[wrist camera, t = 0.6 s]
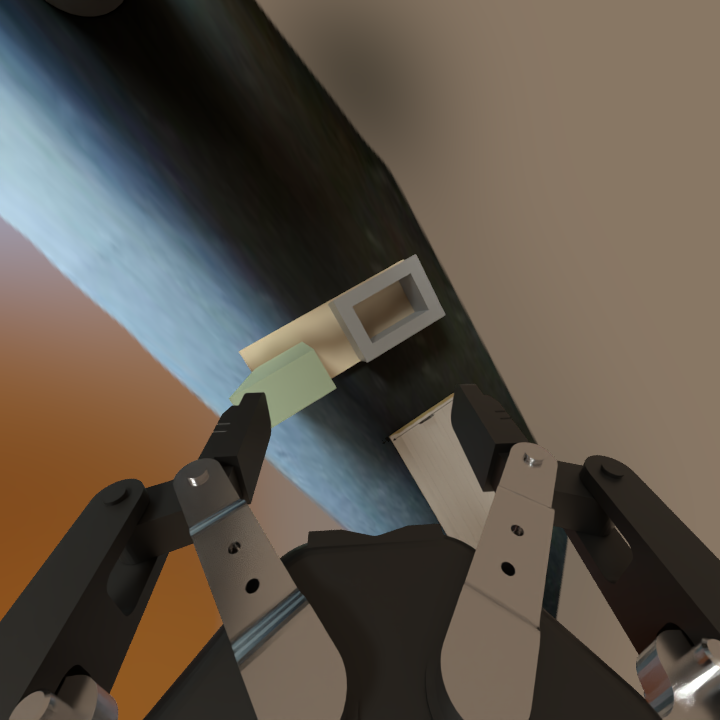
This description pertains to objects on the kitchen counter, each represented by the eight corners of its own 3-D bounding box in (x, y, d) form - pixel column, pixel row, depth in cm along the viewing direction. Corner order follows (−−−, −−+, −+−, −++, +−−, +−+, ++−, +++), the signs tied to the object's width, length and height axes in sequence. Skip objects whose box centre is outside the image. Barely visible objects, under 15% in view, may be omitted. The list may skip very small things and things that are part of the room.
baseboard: (476, 604, 46) (535, 555, 48) (488, 622, 44) (551, 569, 45) (377, 440, 40) (450, 391, 42) (384, 448, 38) (462, 395, 39)
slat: (255, 368, 34) (229, 398, 19) (302, 341, 35) (313, 349, 20) (269, 390, 35) (255, 437, 20) (315, 363, 36) (336, 388, 20)
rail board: (240, 350, 35) (238, 351, 34) (400, 261, 38) (403, 259, 37) (277, 409, 36) (277, 411, 35) (428, 317, 40) (432, 317, 39)
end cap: (327, 304, 36) (332, 300, 32) (402, 262, 37) (415, 253, 33) (359, 359, 37) (367, 362, 33) (429, 316, 39) (445, 315, 35)
